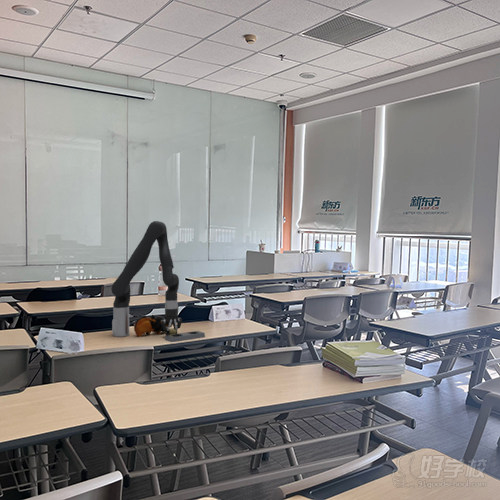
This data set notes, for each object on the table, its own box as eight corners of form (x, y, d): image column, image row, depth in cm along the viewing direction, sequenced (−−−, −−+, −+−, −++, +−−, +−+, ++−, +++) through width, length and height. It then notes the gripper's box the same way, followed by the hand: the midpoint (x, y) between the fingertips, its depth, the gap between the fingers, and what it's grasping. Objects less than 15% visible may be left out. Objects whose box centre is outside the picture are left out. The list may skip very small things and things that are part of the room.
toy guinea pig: (167, 345, 302) (175, 321, 305) (134, 335, 290) (143, 311, 292) (161, 342, 309) (169, 319, 312) (129, 333, 296) (138, 309, 299)
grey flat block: (171, 342, 279) (171, 337, 279) (165, 339, 285) (165, 335, 285) (204, 337, 293) (204, 332, 293) (197, 334, 299) (197, 330, 299)
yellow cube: (170, 337, 291) (170, 330, 291) (166, 336, 294) (166, 329, 294) (176, 336, 293) (176, 329, 293) (173, 335, 297) (173, 328, 297)
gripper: (178, 305, 300) (178, 333, 301) (157, 308, 292) (157, 336, 292) (185, 307, 295) (185, 335, 295) (163, 309, 286) (163, 338, 286)
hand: (171, 336), depth 294 cm, fingers closed on yellow cube, 4 cm apart
